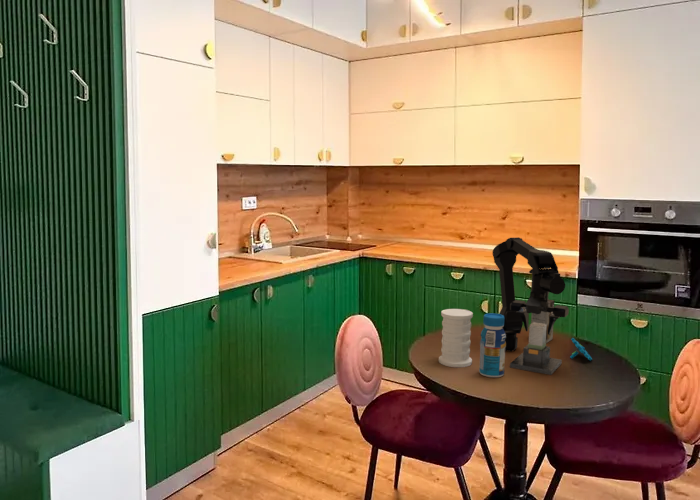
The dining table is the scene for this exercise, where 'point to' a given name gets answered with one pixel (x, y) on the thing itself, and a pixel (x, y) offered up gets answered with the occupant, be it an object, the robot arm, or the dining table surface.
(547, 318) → the coffee box
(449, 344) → the decorative container
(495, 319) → the beverage bottle
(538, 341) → the block
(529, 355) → the stand
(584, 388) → the dining table surface
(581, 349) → the blue angular plastic piece
